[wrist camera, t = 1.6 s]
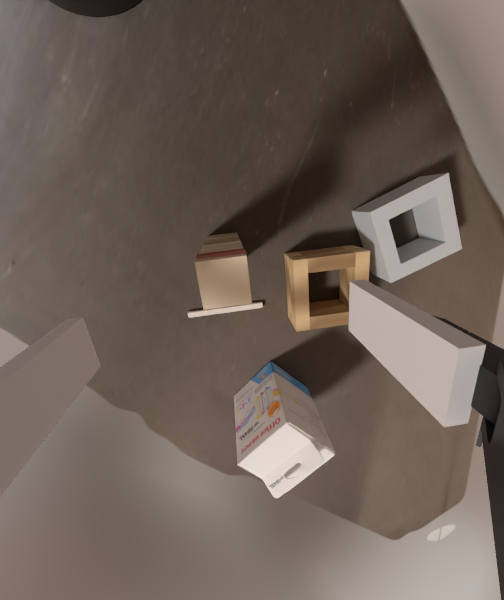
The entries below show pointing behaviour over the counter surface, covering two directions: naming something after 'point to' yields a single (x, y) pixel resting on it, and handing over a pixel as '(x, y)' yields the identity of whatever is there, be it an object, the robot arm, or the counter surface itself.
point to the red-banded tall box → (223, 272)
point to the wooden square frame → (299, 264)
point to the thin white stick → (225, 309)
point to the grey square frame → (429, 220)
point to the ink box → (279, 430)
